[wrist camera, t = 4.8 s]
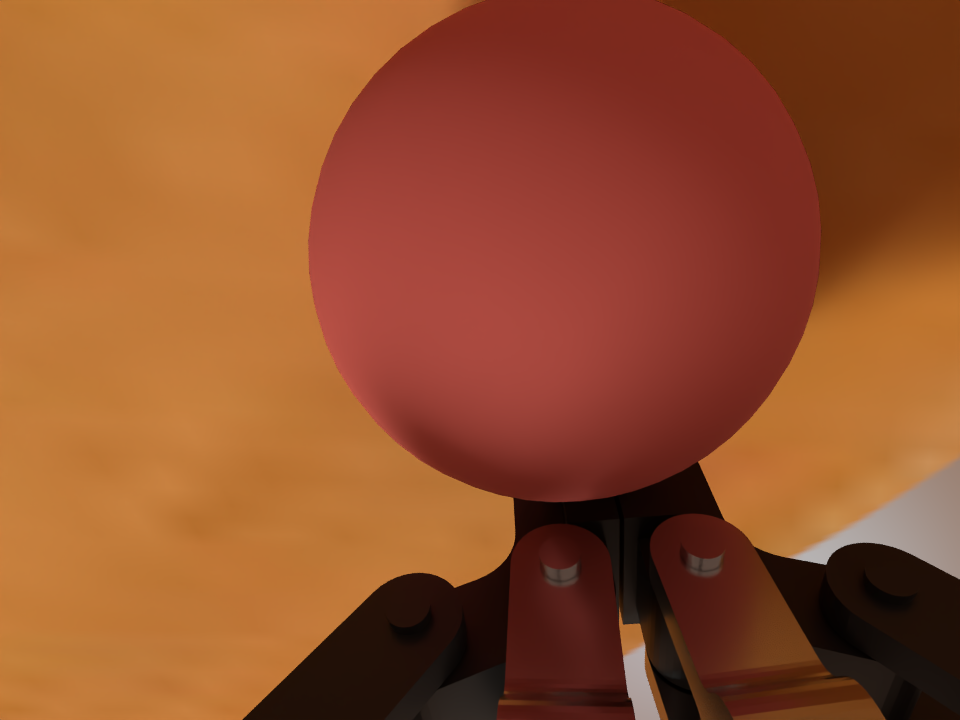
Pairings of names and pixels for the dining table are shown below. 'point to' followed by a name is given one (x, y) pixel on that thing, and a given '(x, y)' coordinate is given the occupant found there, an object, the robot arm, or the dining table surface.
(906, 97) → the dining table surface
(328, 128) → the dining table surface
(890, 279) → the dining table surface
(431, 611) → the robot arm
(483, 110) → the ball
